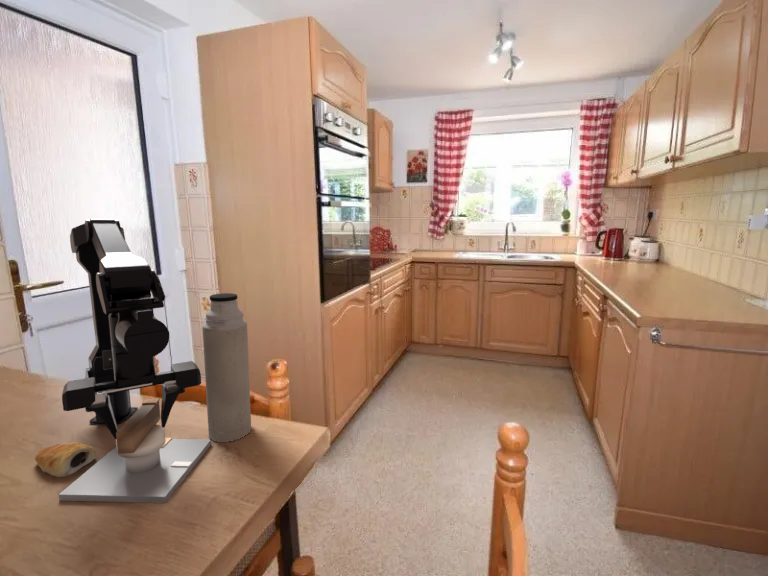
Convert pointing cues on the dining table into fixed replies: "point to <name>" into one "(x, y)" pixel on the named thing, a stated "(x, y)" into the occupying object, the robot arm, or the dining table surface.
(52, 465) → the pastry
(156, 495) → the plate
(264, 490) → the dining table surface
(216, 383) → the thermos bottle
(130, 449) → the rotary knob
